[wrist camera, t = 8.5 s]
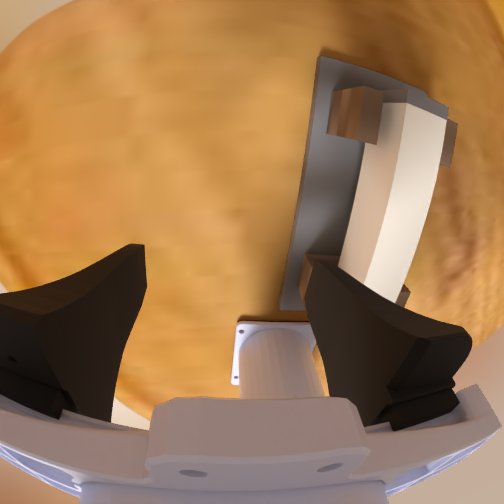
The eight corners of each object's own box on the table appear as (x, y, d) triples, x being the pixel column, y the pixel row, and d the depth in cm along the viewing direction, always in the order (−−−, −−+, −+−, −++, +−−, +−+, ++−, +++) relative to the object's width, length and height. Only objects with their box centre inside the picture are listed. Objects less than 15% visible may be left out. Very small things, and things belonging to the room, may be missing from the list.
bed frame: (367, 304, 25) (393, 346, 20) (278, 303, 24) (290, 353, 19) (420, 92, 16) (470, 94, 11) (317, 58, 15) (350, 38, 10)
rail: (358, 307, 21) (377, 340, 18) (325, 307, 21) (340, 343, 17) (410, 104, 14) (448, 107, 11) (372, 91, 14) (407, 88, 10)
